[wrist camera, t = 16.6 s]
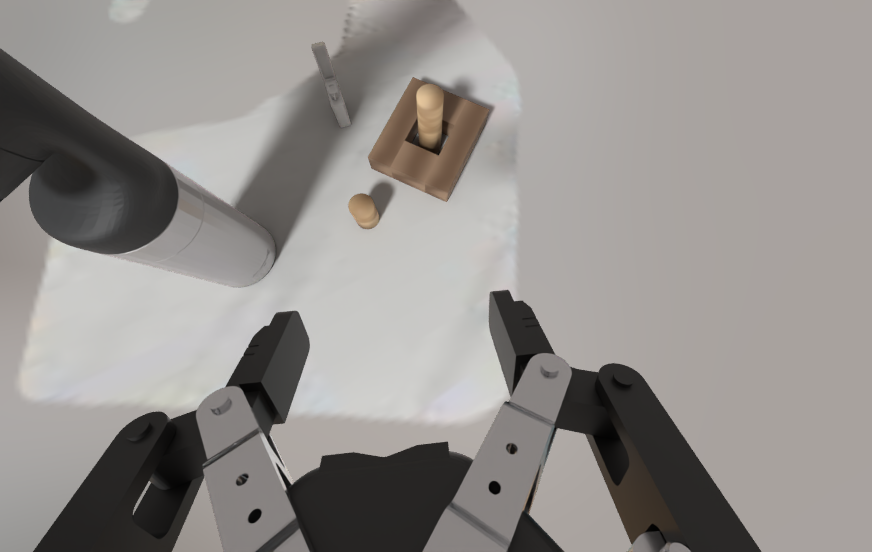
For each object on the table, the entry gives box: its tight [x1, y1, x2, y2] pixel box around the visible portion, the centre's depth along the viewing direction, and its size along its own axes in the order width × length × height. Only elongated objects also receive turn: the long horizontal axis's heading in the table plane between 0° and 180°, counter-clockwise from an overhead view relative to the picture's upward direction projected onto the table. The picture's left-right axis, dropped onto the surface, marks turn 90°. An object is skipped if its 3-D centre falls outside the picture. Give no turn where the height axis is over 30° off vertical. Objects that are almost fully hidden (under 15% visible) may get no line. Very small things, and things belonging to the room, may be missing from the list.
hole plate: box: [368, 77, 489, 202], centre depth 46 cm, size 12×14×3 cm
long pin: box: [416, 84, 444, 154], centre depth 42 cm, size 3×3×10 cm
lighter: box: [312, 42, 351, 128], centre depth 44 cm, size 7×2×8 cm, turn 18°
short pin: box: [349, 194, 379, 229], centre depth 43 cm, size 3×3×4 cm
